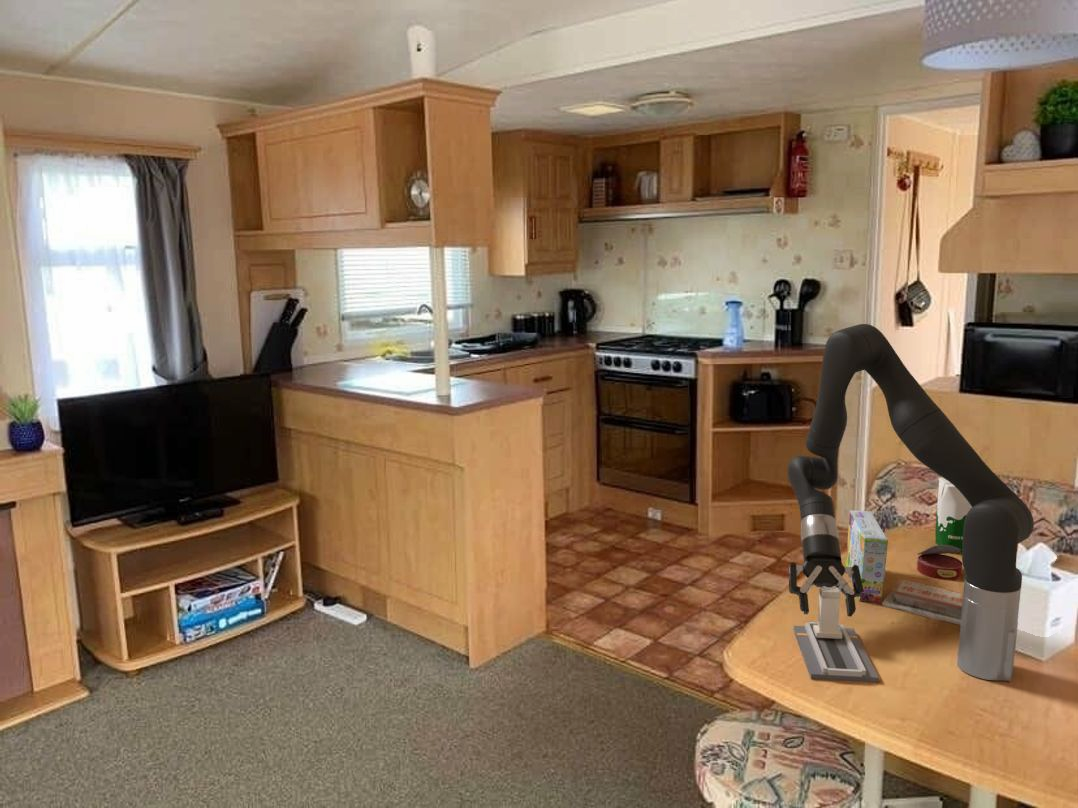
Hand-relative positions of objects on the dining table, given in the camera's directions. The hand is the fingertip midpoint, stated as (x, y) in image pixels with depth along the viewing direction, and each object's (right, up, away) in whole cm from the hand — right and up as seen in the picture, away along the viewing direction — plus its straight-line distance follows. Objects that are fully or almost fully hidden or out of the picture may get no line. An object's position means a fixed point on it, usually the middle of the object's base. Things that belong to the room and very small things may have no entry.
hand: (828, 614), depth 167 cm
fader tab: (0, -4, +1) cm, 4 cm away
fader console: (-1, -7, -4) cm, 8 cm away
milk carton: (+50, +4, +51) cm, 72 cm away
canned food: (+39, +1, +36) cm, 53 cm away
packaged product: (+28, -3, +16) cm, 32 cm away
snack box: (+18, 0, +29) cm, 34 cm away
